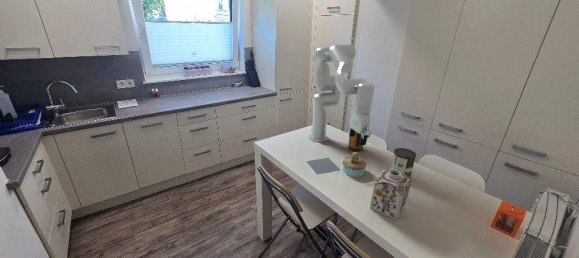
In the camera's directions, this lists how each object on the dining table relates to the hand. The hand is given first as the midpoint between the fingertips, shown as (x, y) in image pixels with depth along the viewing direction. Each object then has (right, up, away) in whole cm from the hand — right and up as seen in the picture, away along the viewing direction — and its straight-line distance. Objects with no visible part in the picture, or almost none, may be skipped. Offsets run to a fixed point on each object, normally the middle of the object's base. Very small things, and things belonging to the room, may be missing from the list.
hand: (357, 140), depth 127 cm
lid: (0, -12, +5) cm, 13 cm away
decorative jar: (+8, -28, -19) cm, 35 cm away
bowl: (0, -17, +7) cm, 18 cm away
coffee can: (+23, -19, +4) cm, 30 cm away
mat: (-16, -15, +11) cm, 24 cm away
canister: (+7, -7, +31) cm, 32 cm away
